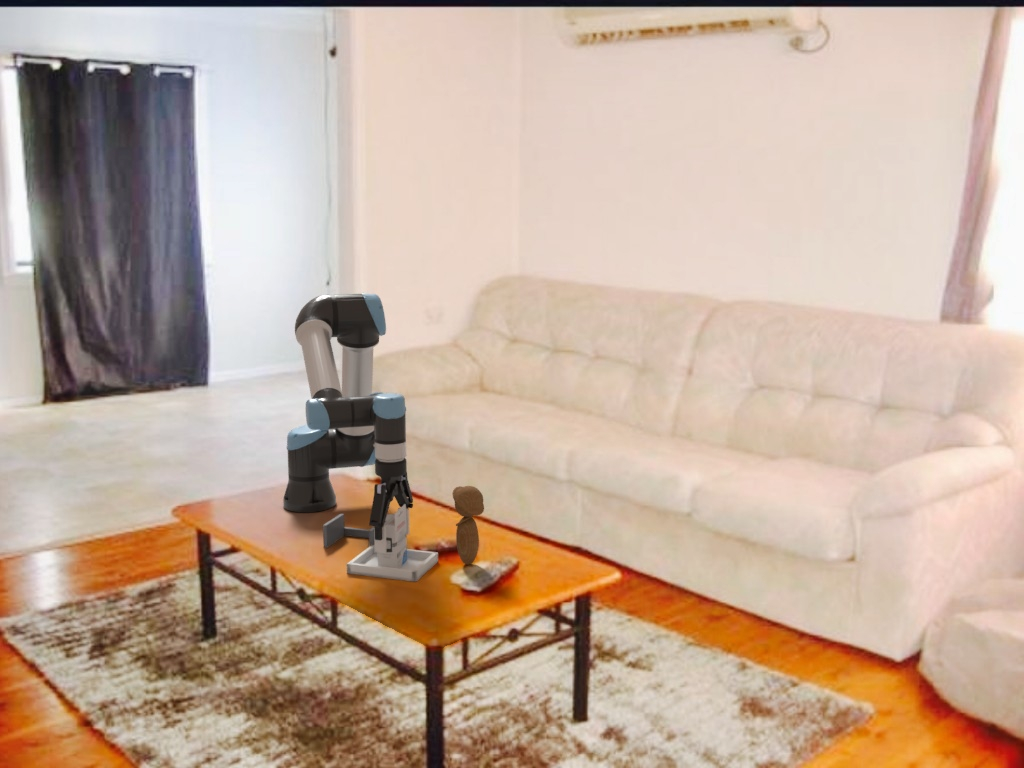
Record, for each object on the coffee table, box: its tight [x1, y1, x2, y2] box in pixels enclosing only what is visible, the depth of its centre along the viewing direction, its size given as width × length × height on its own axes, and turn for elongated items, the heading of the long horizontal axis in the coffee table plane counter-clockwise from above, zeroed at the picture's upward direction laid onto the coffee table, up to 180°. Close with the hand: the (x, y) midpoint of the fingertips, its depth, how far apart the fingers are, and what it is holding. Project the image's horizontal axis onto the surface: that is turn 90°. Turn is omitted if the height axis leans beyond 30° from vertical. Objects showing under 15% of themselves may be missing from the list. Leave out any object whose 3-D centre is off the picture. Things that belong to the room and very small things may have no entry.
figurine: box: [452, 485, 485, 566], centre depth 253 cm, size 9×7×20 cm
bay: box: [322, 513, 375, 549], centre depth 269 cm, size 11×14×6 cm
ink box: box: [377, 504, 408, 569], centre depth 251 cm, size 8×5×15 cm, turn 167°
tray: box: [346, 545, 439, 582], centre depth 253 cm, size 14×18×2 cm
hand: (392, 542), depth 252 cm, fingers open, 13 cm apart
